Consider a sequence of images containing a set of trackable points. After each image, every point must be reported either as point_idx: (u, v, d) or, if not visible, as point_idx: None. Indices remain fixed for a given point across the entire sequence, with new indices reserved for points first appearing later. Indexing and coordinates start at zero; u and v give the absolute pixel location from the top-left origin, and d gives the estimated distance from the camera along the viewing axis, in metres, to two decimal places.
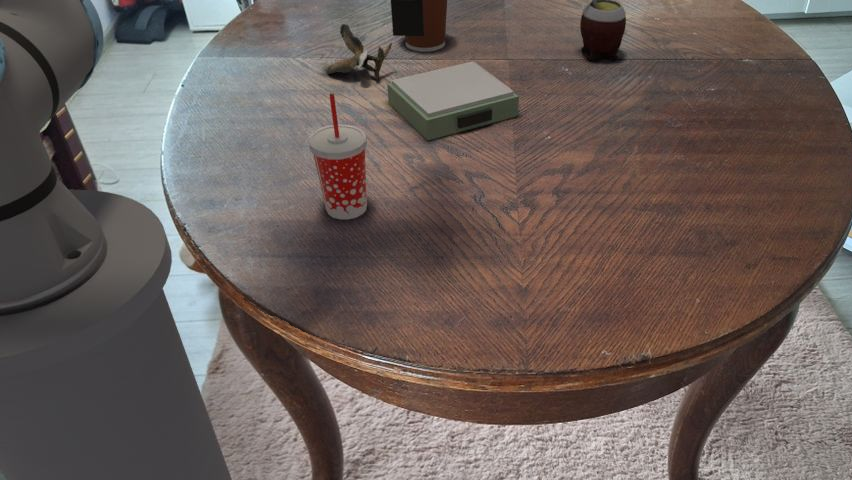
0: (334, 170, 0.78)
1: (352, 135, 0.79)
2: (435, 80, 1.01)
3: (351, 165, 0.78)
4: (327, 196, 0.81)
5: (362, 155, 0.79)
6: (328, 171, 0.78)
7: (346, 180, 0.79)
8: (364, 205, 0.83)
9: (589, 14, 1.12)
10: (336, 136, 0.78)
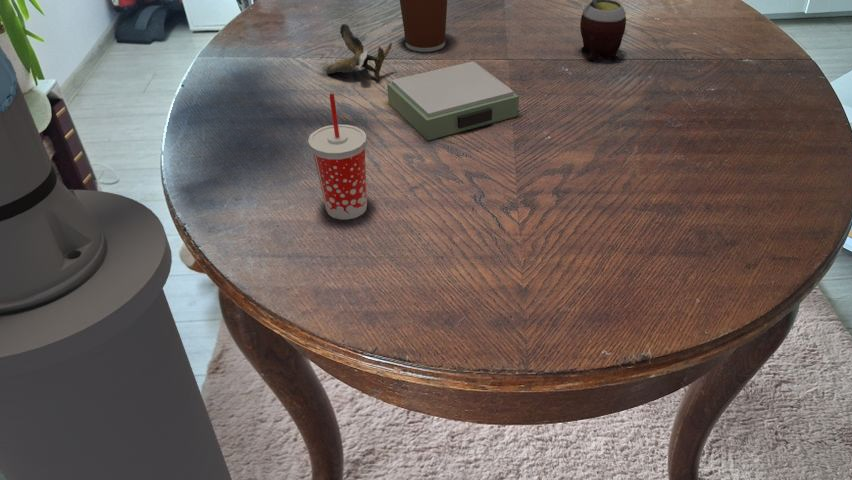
0: (334, 170, 0.78)
1: (352, 135, 0.79)
2: (435, 80, 1.01)
3: (351, 165, 0.78)
4: (327, 196, 0.81)
5: (362, 155, 0.79)
6: (328, 171, 0.78)
7: (346, 180, 0.79)
8: (364, 205, 0.83)
9: (589, 14, 1.12)
10: (336, 136, 0.78)
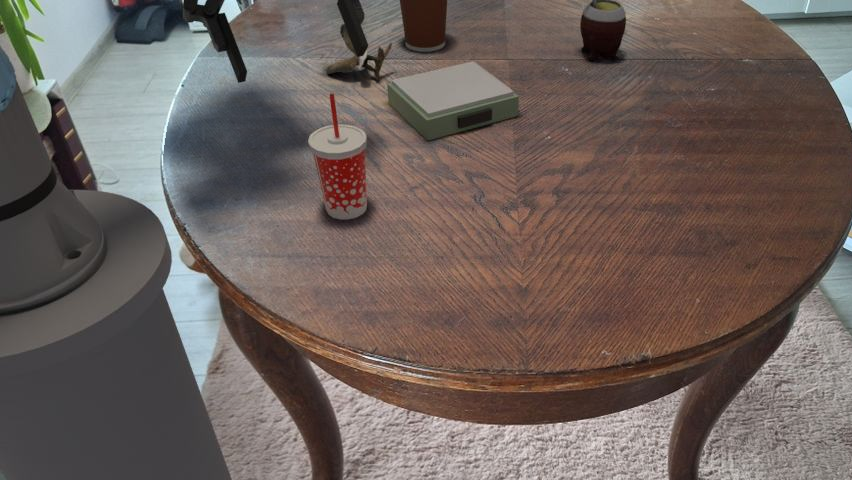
0: (334, 170, 0.78)
1: (352, 135, 0.79)
2: (435, 80, 1.01)
3: (351, 165, 0.78)
4: (327, 196, 0.81)
5: (362, 155, 0.79)
6: (328, 171, 0.78)
7: (346, 180, 0.79)
8: (364, 205, 0.83)
9: (589, 14, 1.12)
10: (336, 136, 0.78)
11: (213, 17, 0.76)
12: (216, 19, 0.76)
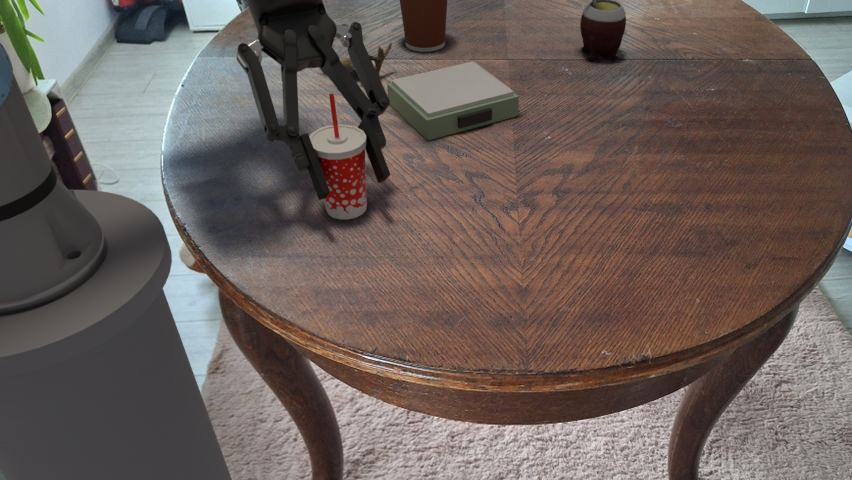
0: (334, 170, 0.78)
1: (352, 135, 0.79)
2: (435, 80, 1.01)
3: (351, 165, 0.78)
4: (327, 196, 0.81)
5: (362, 155, 0.79)
6: (327, 171, 0.78)
7: (345, 180, 0.79)
8: (364, 205, 0.83)
9: (589, 14, 1.12)
10: (336, 136, 0.78)
11: (298, 136, 0.76)
12: (299, 139, 0.76)
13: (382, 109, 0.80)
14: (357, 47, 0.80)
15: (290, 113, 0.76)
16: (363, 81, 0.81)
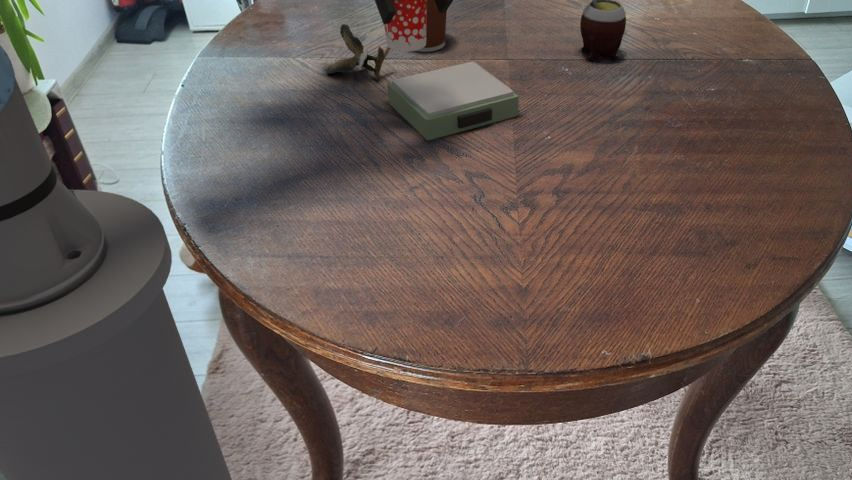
0: None
1: None
2: (435, 80, 1.01)
3: None
4: (390, 26, 0.83)
5: None
6: None
7: (409, 5, 0.81)
8: (424, 39, 0.85)
9: (589, 14, 1.12)
10: None
11: None
12: None
13: None
14: None
15: None
16: None
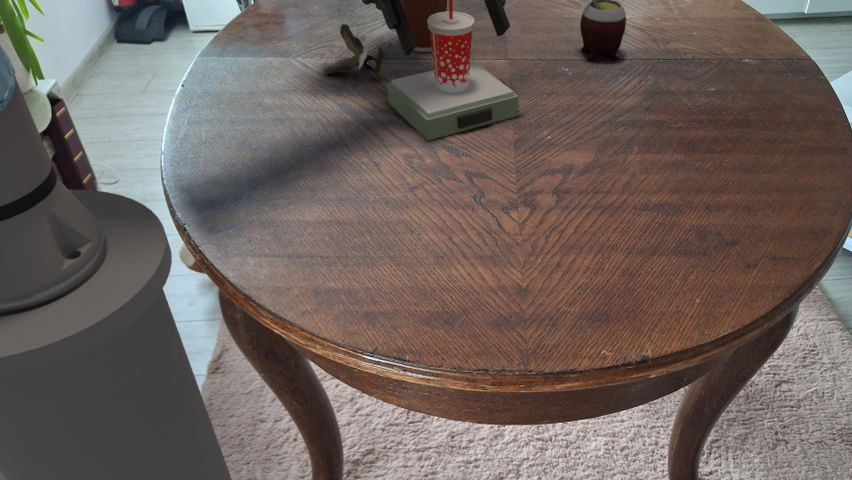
0: (449, 46, 0.94)
1: (462, 19, 0.95)
2: None
3: (462, 42, 0.94)
4: (439, 72, 0.97)
5: (471, 35, 0.95)
6: (443, 47, 0.94)
7: (457, 55, 0.95)
8: (468, 82, 0.99)
9: (589, 14, 1.12)
10: (450, 18, 0.94)
11: (388, 0, 0.91)
12: (390, 1, 0.91)
13: None
14: None
15: None
16: None
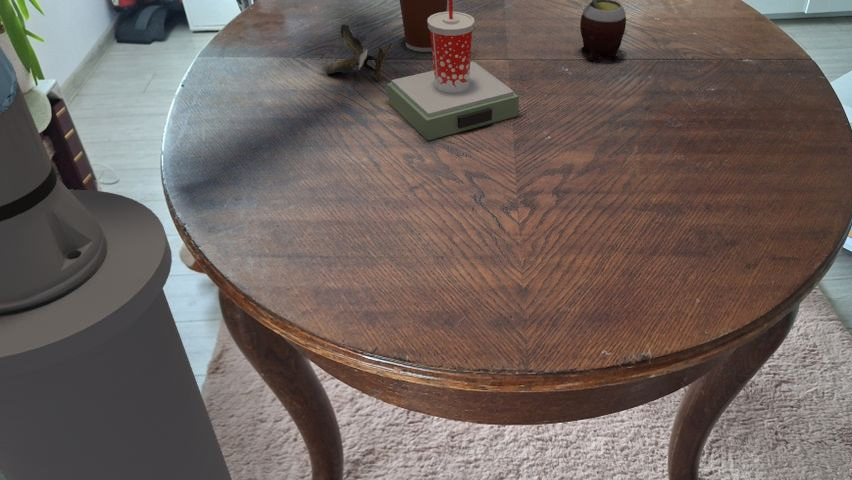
0: (449, 46, 0.94)
1: (462, 19, 0.95)
2: None
3: (462, 42, 0.94)
4: (439, 72, 0.97)
5: (471, 35, 0.95)
6: (443, 47, 0.94)
7: (457, 55, 0.95)
8: (468, 82, 0.99)
9: (589, 14, 1.12)
10: (450, 18, 0.94)
11: None
12: None
13: None
14: None
15: None
16: None
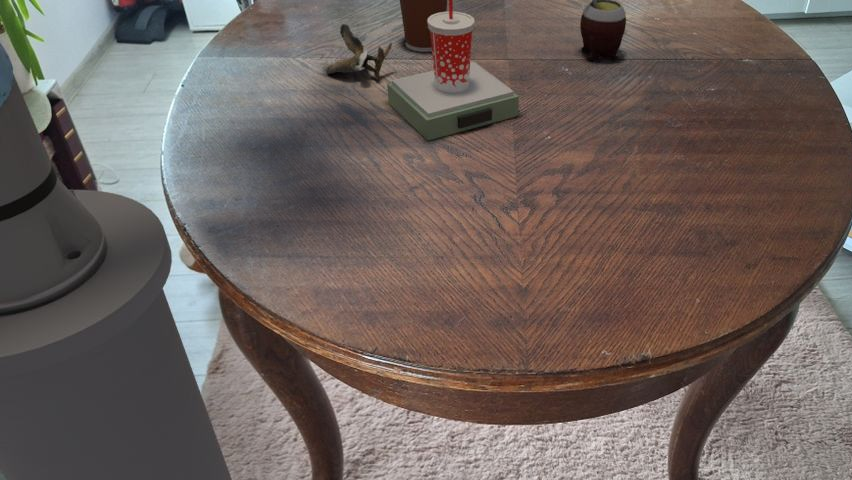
0: (449, 46, 0.94)
1: (462, 19, 0.95)
2: None
3: (462, 42, 0.94)
4: (439, 72, 0.97)
5: (471, 35, 0.95)
6: (443, 47, 0.94)
7: (457, 55, 0.95)
8: (468, 82, 0.99)
9: (589, 14, 1.12)
10: (450, 18, 0.94)
11: None
12: None
13: None
14: None
15: None
16: None
